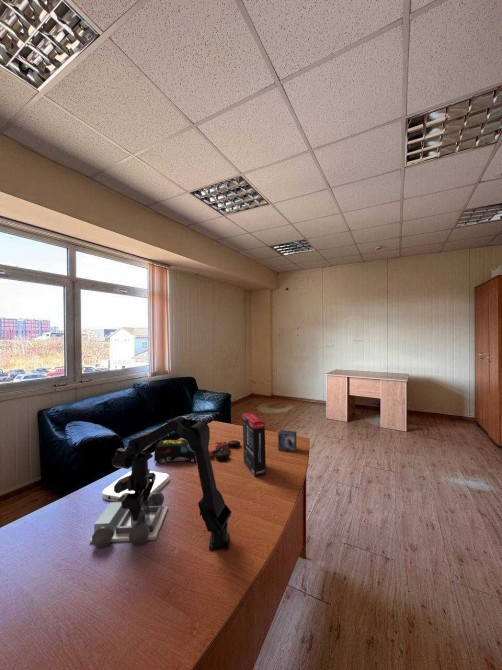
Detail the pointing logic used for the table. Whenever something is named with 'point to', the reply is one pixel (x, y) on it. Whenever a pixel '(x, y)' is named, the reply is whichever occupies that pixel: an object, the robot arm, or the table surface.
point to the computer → (111, 495)
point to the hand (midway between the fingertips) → (140, 511)
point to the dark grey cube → (142, 514)
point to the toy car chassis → (128, 523)
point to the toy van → (174, 451)
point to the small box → (287, 440)
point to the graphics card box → (254, 444)
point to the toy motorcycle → (224, 449)
